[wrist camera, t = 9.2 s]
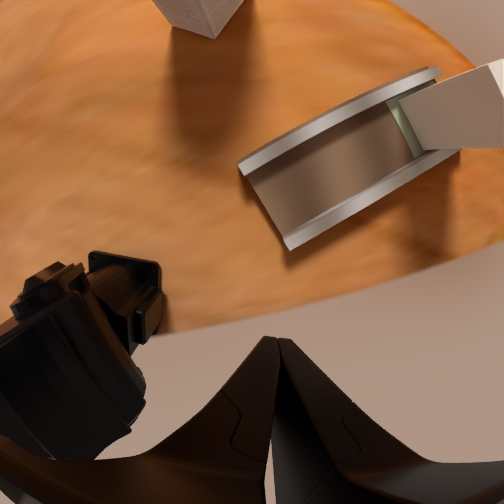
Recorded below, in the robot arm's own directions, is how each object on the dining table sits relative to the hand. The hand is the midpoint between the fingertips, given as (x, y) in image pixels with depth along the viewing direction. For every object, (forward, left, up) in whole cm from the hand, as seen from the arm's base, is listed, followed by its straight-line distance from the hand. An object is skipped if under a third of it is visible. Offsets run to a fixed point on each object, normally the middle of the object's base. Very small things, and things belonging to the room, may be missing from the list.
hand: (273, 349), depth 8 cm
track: (+6, +8, -13) cm, 16 cm away
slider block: (+10, +12, -12) cm, 20 cm away
